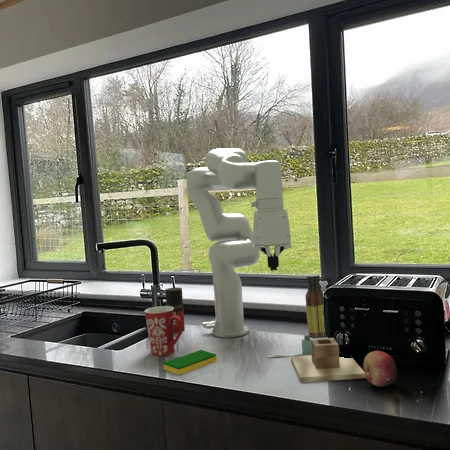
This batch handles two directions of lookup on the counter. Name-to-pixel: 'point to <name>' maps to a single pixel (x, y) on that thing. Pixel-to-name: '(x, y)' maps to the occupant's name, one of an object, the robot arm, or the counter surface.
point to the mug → (162, 329)
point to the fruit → (380, 368)
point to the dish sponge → (189, 362)
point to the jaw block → (325, 353)
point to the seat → (311, 374)
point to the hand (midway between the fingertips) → (273, 269)
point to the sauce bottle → (315, 307)
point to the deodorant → (175, 305)
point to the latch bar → (307, 344)
